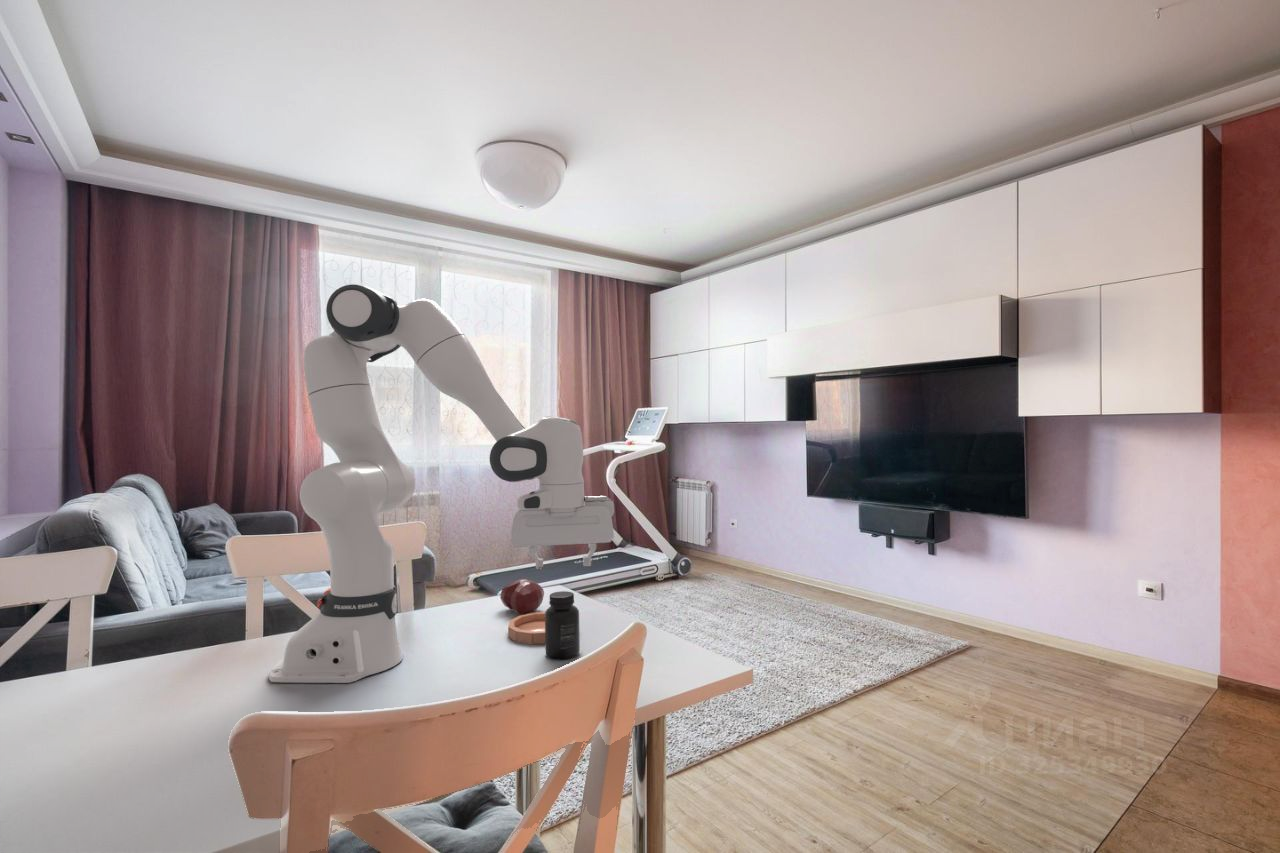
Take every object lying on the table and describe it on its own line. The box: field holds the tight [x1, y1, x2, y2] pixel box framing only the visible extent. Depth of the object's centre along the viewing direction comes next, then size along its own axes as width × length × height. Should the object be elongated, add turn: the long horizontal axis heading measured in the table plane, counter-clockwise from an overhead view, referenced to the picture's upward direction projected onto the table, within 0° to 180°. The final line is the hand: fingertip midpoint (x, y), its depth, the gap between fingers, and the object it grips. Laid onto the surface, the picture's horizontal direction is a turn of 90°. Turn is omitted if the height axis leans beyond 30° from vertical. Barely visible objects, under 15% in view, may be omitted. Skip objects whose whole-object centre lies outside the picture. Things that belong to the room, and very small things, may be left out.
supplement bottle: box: [544, 590, 581, 661], centre depth 120 cm, size 7×7×12 cm
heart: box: [499, 578, 545, 616], centre depth 149 cm, size 12×8×10 cm
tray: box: [507, 611, 546, 645], centre depth 133 cm, size 14×14×2 cm
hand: (563, 566), depth 120 cm, fingers open, 8 cm apart
